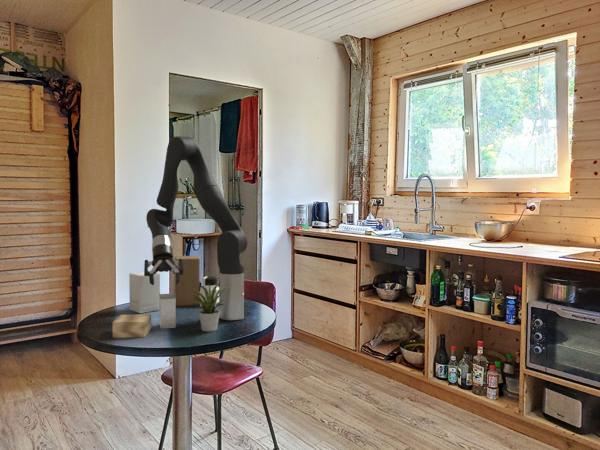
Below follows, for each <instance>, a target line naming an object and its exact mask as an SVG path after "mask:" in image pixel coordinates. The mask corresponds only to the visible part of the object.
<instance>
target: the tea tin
mask: <svg viewBox="0 0 600 450" xmlns="http://www.w3.org/2000/svg"><path fill="white" fill-rule="evenodd" d="M176 307H177V306H176V295H175V294H174V292H173V293H160V294H159V310H158V311H159V316H158V318H159V320H158V321H159V325H158V326H159V328H160V329H161V330H163V329H172V328H173V329H175V328H176V318H177V317H176Z"/></svg>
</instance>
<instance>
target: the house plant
mask: <svg viewBox="0 0 600 450" xmlns="http://www.w3.org/2000/svg"><path fill="white" fill-rule="evenodd" d="M208 285H209V284H208ZM217 287H218V288H219V283H217V285H215V286H214V288H213V290H212V293H211V290H210V286H209V293H208V291H207V289H206V288H205V287H203V285H200V288H202V289H203V290H204V291H205V295H206V298H207V300H206V298H205V297H204V296H203V295H202V294H201V293H200V292H199V291H197V290H196V289H195V290H196V291H197V292H198V293H199V295H200V296H201V297H202V299H203V300H204V301H202V299H201V298H200V297H198V296H197V295H196V294H194V293H192V294H193V295H194V297H195V298H196V299H197V300H196V301H197V302H196V303H200V304H201V305H202V306H200V304H199V305H197V308H200V307H201V308H202V310H201V309H200V311H199V310H198V313H199V314H198V315H199V321H200V327H201V331H202V332H214V331H217V329H218V326H219V325H218V324H219V319H220V318H219V314H220V311H219V309H216V308H218V307H219V305H225V304H219V303H220V302H223V300H222V301H220V302H218V303H217V304H215V303H216V301H217V299H218V297H219V296H220V295H221V294H222V293H223V292H224V290H225V289H227V288H229V287H227V288H225V289H223V290H222V291H221V293H220V290H221V289H222V288H221V289H219V290H218V292H217V294H216V297H215V298H214V295H215V294H214V293H215V292H216V291H215V290H216V288H217ZM218 288H217V289H218ZM193 289H194V288H193ZM219 293H220V294H219ZM218 294H219V295H218ZM213 298H214V300H213ZM194 302H195V301H194ZM225 302H226V301H225ZM215 305H216V306H215Z"/></svg>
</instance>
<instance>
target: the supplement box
mask: <svg viewBox="0 0 600 450" xmlns="http://www.w3.org/2000/svg"><path fill="white" fill-rule="evenodd" d="M128 275H129V276H128V278H129V279H128V280H129V283H128V284H129V290H128V291H129V311H131V310H132V311H131V312H134V311H135V313H137V312H138V314H145V312H146V313H150V312H151V313H152V312H157V311H159V294H161V283H160V282H161V274H160V273H158V272H157V273H156V274H154V285H152V284H150V280H149V276H144V271H141V272H140V271H139V272H138V271H137V272H130V273H129V274H128Z"/></svg>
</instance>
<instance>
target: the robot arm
mask: <svg viewBox="0 0 600 450" xmlns="http://www.w3.org/2000/svg"><path fill="white" fill-rule="evenodd" d="M167 144H168V145H167V148H166V153H165V161H164V169H163V175H162V180H161V181H162V182H161V185H160V187H159V191H158V193H157V197H156V204H157V205H158V206H159V207H161V208H164V209H165V210H162V209H158V208H151V209H149V210H148V211H147V213H146V217H145V218H146V224H147V226H148V228H149V230H150V232H151V238H152V240H151V241H152V244H151V251H152V261H151V260H148V259H145V260H144V265H143V267H144V268H143V272H144V276H149V280H150V284H152V285H154V274H156V273H158V272H159V273H163V272H166V273H167V272H170V274H173V275H175V284H178V283H179V280H180V279H179V275H183V271H184V268H183V263H182V259H179V260H177V261H175V260H174V253H173V242H172V238H171V237H172V236H171V231H170V227H171V226H172V225H173V223H174V208H175V203H176V199H177V196H178V194H179V187H180V186H179V185H180V184H179V179H178V169H179V166H180V163H181V162H182V161H186V162H187V164H188V165H189V168H190V169H191V172H192V175H193V193H194V194H195V195H194V196H195V197H196V199H197V201H198V203H199V205H200V206H201V208H202V209H203V211H204V212H205V213H206V214H207V215H208V216H209V217H210V218H211V219H212V220H213V221H214V222H215V223H216V224H217V226H218V227H219V229H220V231H221V233H220V235H219V236H218V237H217V241H216V255H217V256H216V258H217V266H218V269H219V283H218V287H219V289H221V288H222V289H221V290H220V293H221V291H222V290H223V289H225V288H227V287H229V288H227V289H225V290H224V292H223V293H222V294H221V295H220V296H219V302H220V301H222V300H223V302H220V303H219V304H225V305H219V306H218V308H219V309H218V310H219V311H220V314H219V319H220V320H223V321H239V320H244V319H245V318H244V317H245V315H244V313H245V310H244V309H245V305H244V304H245V266H244V265H243V264H242V262H241V259H240V254H242V253H244V252H245V251H246V250H247V248H248V237H247V235H246V234H245V232H244V230H243V229H242V227H241V226H240V224H239V223H238V221H237V220H236V218H235V217H234V215H233V213H232V211H231V209H230V207H229V205H228V204H227V201H226V200H225V198H224V195H223V193H222V191H221V190H220V187H219V186H218V184H217V182H216V180H215V178H214V176H213V174H212V172H211V171H210V169H209V167H208V166H209V165H207V162H206V160H205V157H204V155H203V153H202V152H203V151H202V149H201V147H200V145H199V143H198V142H197V140H196V139H195V138H193V137H190V136H174V137H172V138H171V139H170V140H169V141H168V143H167ZM174 264H176V265H177V266H179V270H177V269H176V267H175V266H174ZM151 266H152V269H151V270H149V267H151ZM220 293H219V294H220ZM225 301H226V302H225Z"/></svg>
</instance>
